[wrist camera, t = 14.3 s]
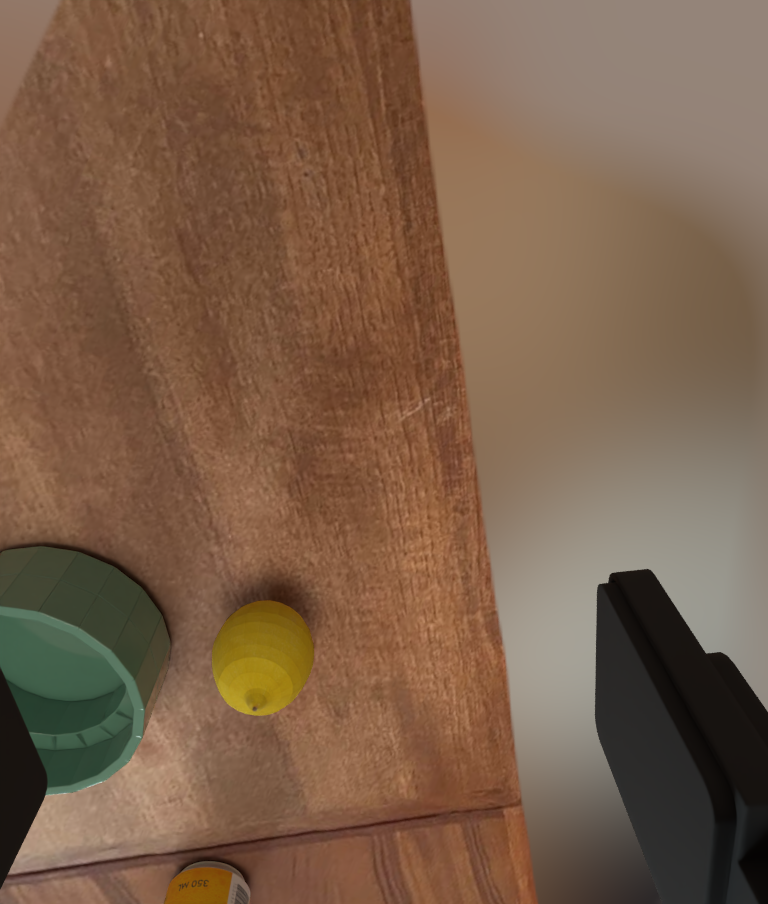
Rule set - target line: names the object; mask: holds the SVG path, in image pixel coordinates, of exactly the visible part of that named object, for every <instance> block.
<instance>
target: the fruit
mask: <svg viewBox="0 0 768 904" xmlns="http://www.w3.org/2000/svg"><path fill="white" fill-rule="evenodd" d="M313 659H314V645H313V641H312V637H311V633H310V630H309V628H308V626H307V625H306V623H305V622H304V620H303V619H302V617H301V616H300V615H299V614H298V613H297V612H296V611H295V610H293V609H292V608H291V607H289V606H287V605H285V604H283V603H280V602H275V601H271V600H265V601H256V602H253V603H250V604H247V605H245V606H243V607H241V608H240V609H238V610H237V611H236V612H234V613H233V614H232V615H231V616H230V617H229V618H228V619H227V620H226V622H225V623H224V625H223V627H222V628H221V630H220V632H219V633H218V635H217V637H216V639H215V642H214V645H213V650H212V670H213V675H214V678H215V682H216V684H217V687H218V690H219V692H220V694H221V695H222V697H223V698H224V699H225V701H226V702H227V703H228V704H229V705H230V706H232V707H233V708H234V709H236V710H238V711H240V712H243V713H245V714H250V715H256V716H258V715H269V714H272V713H275V712H278V711H279V710H281V709H282V708H284V707H285V706H287V705H288V704H290V703H291V702H292V701H293V700H294V699H295V698H296V696H297V695H298V694H299V692H300V691H301V690H302V688H303V686H304V685H305V683H306V681H307V679H308V677H309V675H310V673H311V669H312V666H313Z"/></svg>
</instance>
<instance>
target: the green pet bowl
mask: <svg viewBox="0 0 768 904" xmlns="http://www.w3.org/2000/svg"><path fill="white" fill-rule="evenodd" d="M170 645H171V643H170V639H169V635H168V632H167V629H166V626H165V622H164V619H163V616H162V615H161V613H160V611H159V610H158V609H157V607H156V606H155V605H154V603H153V602H152V600H151V599H150V598H149V596H148V595H147V594H146V592H145V591H144V590H143V588H142V587H140V586H139V585H138V584H136V583H135V582H134V581H133V580H131V579H130V578H129V577H127V576H126V575H125V574H123V573H122V572H121V571H119V570H118V569H117V568H116V567H114V566H112V565H109V564H107V563H105V562H102V561H100V560H98V559H95V558H93V557H91V556H88V555H86V554H83V553H81V552H78V551H71V550H65V549H58V548H52V547H45V546H37V547H28V548H19V549H10V550H5V551H2V552H0V667H1V670H2V672H3V674H4V676H5V679H6V681H7V683H8V685H9V688H10V690H11V692H12V695H13V697H14V699H15V701H16V704H17V706H18V708H19V711H20V713H21V715H22V717H23V720H24V722H25V724H26V727H27V729H28V731H29V733H30V736H31V738H32V740H33V743H34V745H35V747H36V749H37V752H38V754H39V756H40V758H41V761H42V763H43V765H44V768H45V770H46V773H47V779H48V784H47V791H46V795H53V794H63V793H73V792H76V791H79V790H82V789H85V788H87V787H90V786H93V785H95V784H98V783H101V782H104V781H105V780H107V779H108V778H109V777H111V776H112V775H113V774H114V773H116V772H117V771H118V770H119V769H121V768H122V767H123V766H125V765H126V764H127V763H128V762H129V761H130V759H131V758H132V756H133V754H134V752H135V751H136V749H137V747H138V745H139V743H140V742H141V740H142V738H143V735H144V733H145V730H146V727H147V725H148V722H149V719H150V717H151V714H152V711H153V708H154V706H155V703H156V700H157V698H158V695H159V692H160V690H161V687H162V684H163V682H164V679H165V676H166V673H167V671H168V666H169V656H170Z"/></svg>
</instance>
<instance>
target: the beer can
mask: <svg viewBox="0 0 768 904" xmlns="http://www.w3.org/2000/svg"><path fill="white" fill-rule="evenodd" d="M250 896H251V894H250V889H249V887H248V885H247V884H246V882H245V880H244V878H243V876H242V874H241V873H240V872H239V871H238V870H237V869H235V868H234V867H232V866H230V865H228V864H225V863H221V862H216V861H203V862H197V863H194V864H192V865H189V866H188V867H186V868H185V869H184V870H182V872H181V873H180V874H178V875H177V876H176V877H174V878H173V880H172V881H171V882H170V884H169V887H168V890H167V894H166V898H165V901H164V904H250Z"/></svg>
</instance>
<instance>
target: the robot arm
mask: <svg viewBox="0 0 768 904" xmlns="http://www.w3.org/2000/svg"><path fill="white" fill-rule="evenodd" d="M595 690H596V691H595V719H596V720H595V721H596V727H597V732H598V736H599V740H600V743H601V745H602V748H603V750H604V753H605V756H606V758H607V761H608V764H609V766H610V769H611V771H612V774H613V777H614V779H615V782H616V784H617V787H618V789H619V792H620V795H621V797H622V800H623V803H624V805H625V808H626V810H627V813H628V816H629V818H630V821H631V823H632V826H633V829H634V831H635V834H636V836H637V839H638V842H639V844H640V847H641V849H642V852H643V855H644V857H645V860H646V862H647V865H648V867H649V870H650V873H651V875H652V878H653V880H654V883H655V886H656V888H657V891H658V893H659V896H660V899H661V901H662V904H768V712H767V710H766V709H765V707H764V706H763V705H762V703H761V702H760V700H759V699H758V697H757V696H756V695H755V693H754V692H753V690H752V689H751V687H750V686H749V685H748V683H747V682H746V680H745V679H744V677H743V676H742V675H741V673H740V671H739V670H738V669H737V667H736V666H735V664H734V663H733V662H732V661H731V660H730V659H729V657H728V656H727V655H725V654H723V653H721V652H717V653H708V654H706V653H705V651H704V650H703V648H702V647H701V645H700V644H699V642H698V641H697V639H696V638H695V636H694V634H693V633H692V631H691V630H690V628H689V627H688V625H687V624H686V622H685V621H684V619H683V618H682V616H681V615H680V613H679V612H678V610H677V608H676V607H675V605H674V604H673V602H672V601H671V599H670V598H669V596H668V595H667V593H666V592H665V590H664V589H663V587H662V586H661V584H660V582H659V581H658V580H657V578H656V576H655V575H654V574H653V572H652V571H651V570H649V569H644V570H635V571H626V572H616V573H612V574H610V577H609V582H608V583H604V584H599V585H598V589H597V630H596V689H595ZM47 784H48V779H47V773H46V770H45V768H44V765H43V763H42V761H41V758H40V756H39V754H38V752H37V749H36V747H35V745H34V743H33V740H32V738H31V736H30V733H29V731H28V729H27V727H26V724H25V722H24V720H23V717H22V715H21V713H20V711H19V708H18V706H17V704H16V701H15V699H14V697H13V695H12V692H11V690H10V688H9V685H8V683H7V681H6V679H5V676H4V674H3V672H2V670H1V667H0V889H1V887H2V885H3V883H4V881H5V878H6V876H7V874H8V872H9V870H10V868H11V866H12V864H13V862H14V860H15V858H16V856H17V854H18V852H19V850H20V848H21V845H22V843H23V841H24V839H25V837H26V835H27V833H28V831H29V829H30V827H31V825H32V823H33V821H34V819H35V817H36V814H37V812H38V810H39V808H40V806H41V804H42V802H43V800H44V798H45V795H46V791H47Z"/></svg>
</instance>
